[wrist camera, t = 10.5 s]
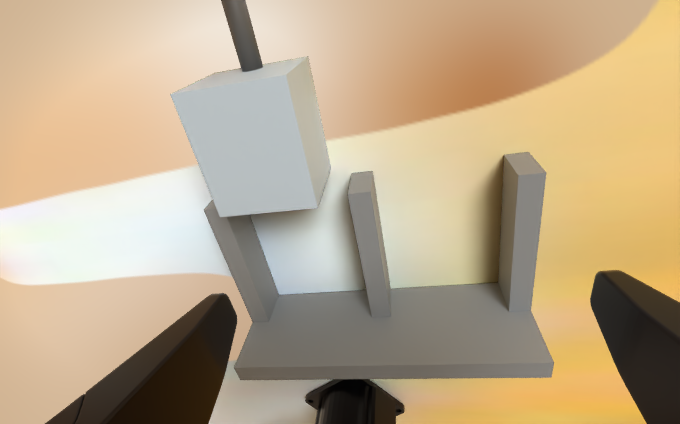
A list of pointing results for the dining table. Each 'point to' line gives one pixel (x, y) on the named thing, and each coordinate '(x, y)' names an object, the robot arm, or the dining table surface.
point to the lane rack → (396, 303)
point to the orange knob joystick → (256, 129)
